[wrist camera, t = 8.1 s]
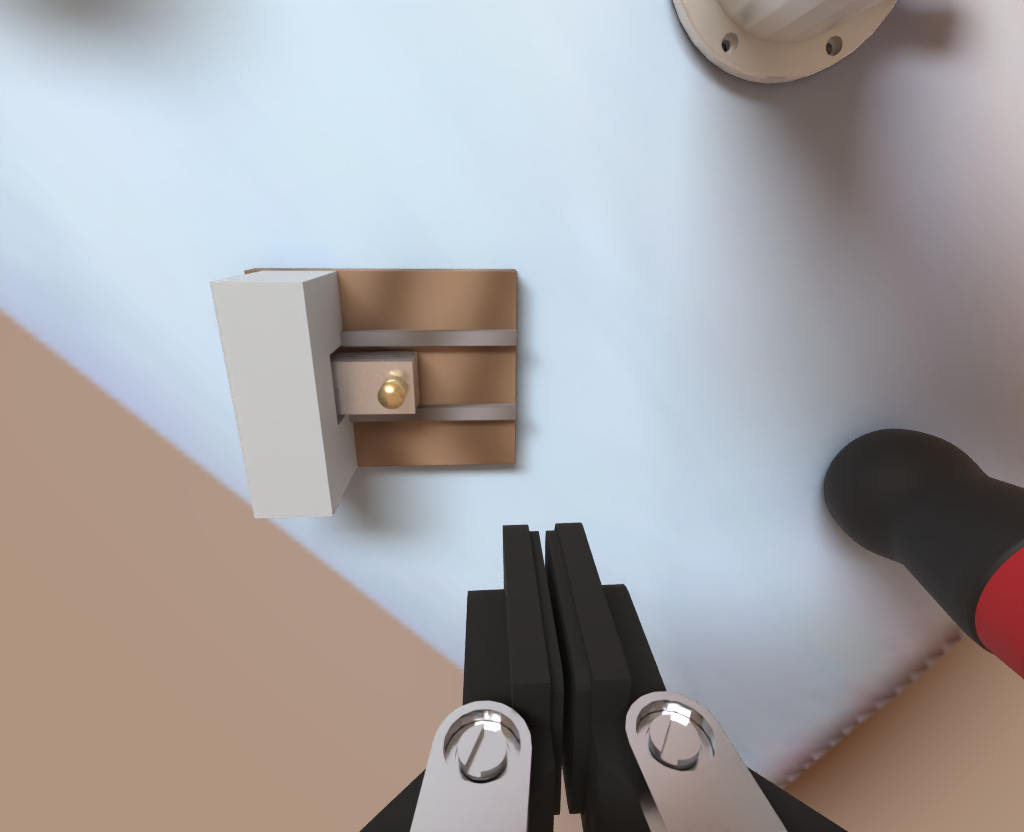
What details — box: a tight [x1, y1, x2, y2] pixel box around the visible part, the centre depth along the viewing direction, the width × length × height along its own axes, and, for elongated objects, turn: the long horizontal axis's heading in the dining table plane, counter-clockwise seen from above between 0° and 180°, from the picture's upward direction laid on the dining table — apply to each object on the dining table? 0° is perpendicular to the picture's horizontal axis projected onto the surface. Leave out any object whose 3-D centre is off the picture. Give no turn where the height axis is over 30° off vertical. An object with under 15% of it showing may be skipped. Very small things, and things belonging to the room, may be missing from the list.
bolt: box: [330, 351, 420, 415], centre depth 29 cm, size 8×3×4 cm, turn 90°
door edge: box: [210, 271, 358, 518], centre depth 28 cm, size 4×12×6 cm, turn 0°
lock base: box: [244, 268, 517, 466], centre depth 31 cm, size 15×12×2 cm
